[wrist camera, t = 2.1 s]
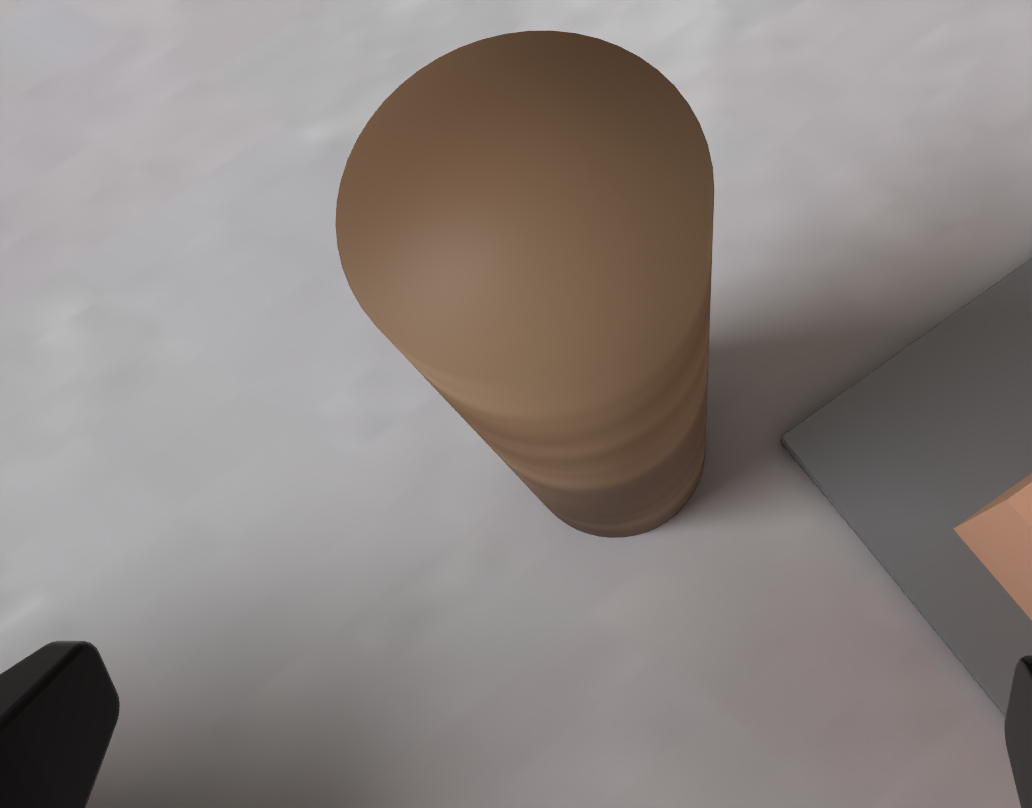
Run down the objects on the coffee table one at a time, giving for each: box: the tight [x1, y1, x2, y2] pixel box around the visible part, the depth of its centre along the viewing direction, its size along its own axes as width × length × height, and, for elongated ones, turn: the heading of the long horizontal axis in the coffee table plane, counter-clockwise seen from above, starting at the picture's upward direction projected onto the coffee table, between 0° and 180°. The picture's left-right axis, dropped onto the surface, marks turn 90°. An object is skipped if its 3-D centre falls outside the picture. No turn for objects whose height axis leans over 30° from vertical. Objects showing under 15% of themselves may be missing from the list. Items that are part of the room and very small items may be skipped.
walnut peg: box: [336, 31, 714, 538], centre depth 16 cm, size 4×4×12 cm
